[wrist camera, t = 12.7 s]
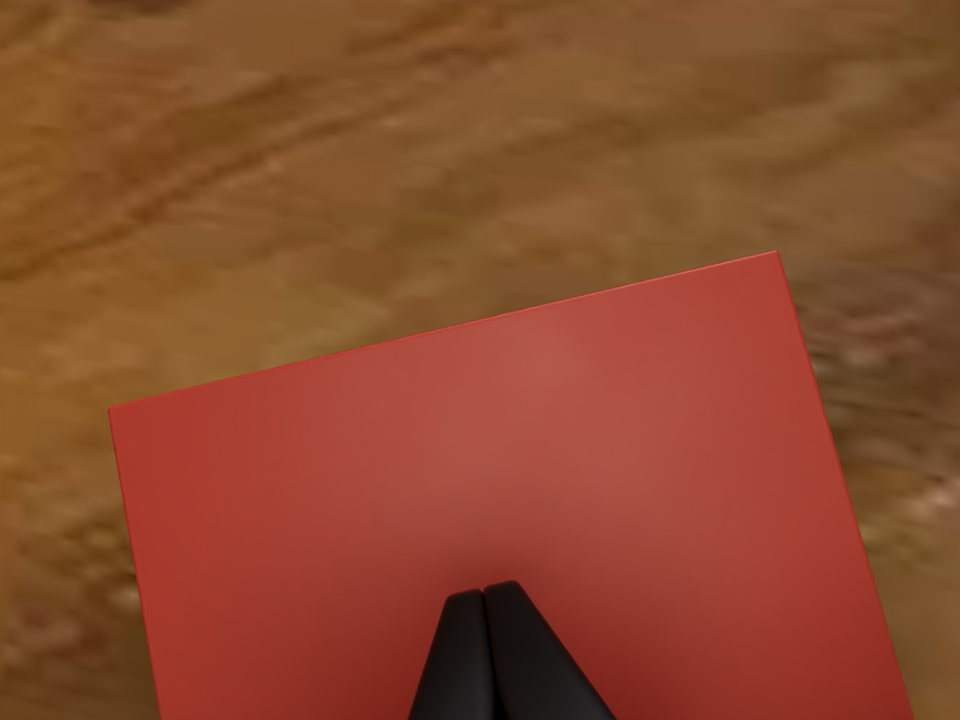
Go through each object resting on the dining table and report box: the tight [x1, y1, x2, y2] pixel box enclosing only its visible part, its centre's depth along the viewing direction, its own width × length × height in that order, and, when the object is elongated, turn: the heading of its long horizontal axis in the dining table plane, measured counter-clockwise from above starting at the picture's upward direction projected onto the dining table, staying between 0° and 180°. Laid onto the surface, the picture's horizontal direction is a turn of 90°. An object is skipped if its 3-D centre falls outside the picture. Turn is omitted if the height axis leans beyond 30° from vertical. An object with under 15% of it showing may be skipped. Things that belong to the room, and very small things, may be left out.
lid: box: [108, 250, 914, 720], centre depth 14 cm, size 11×13×1 cm
